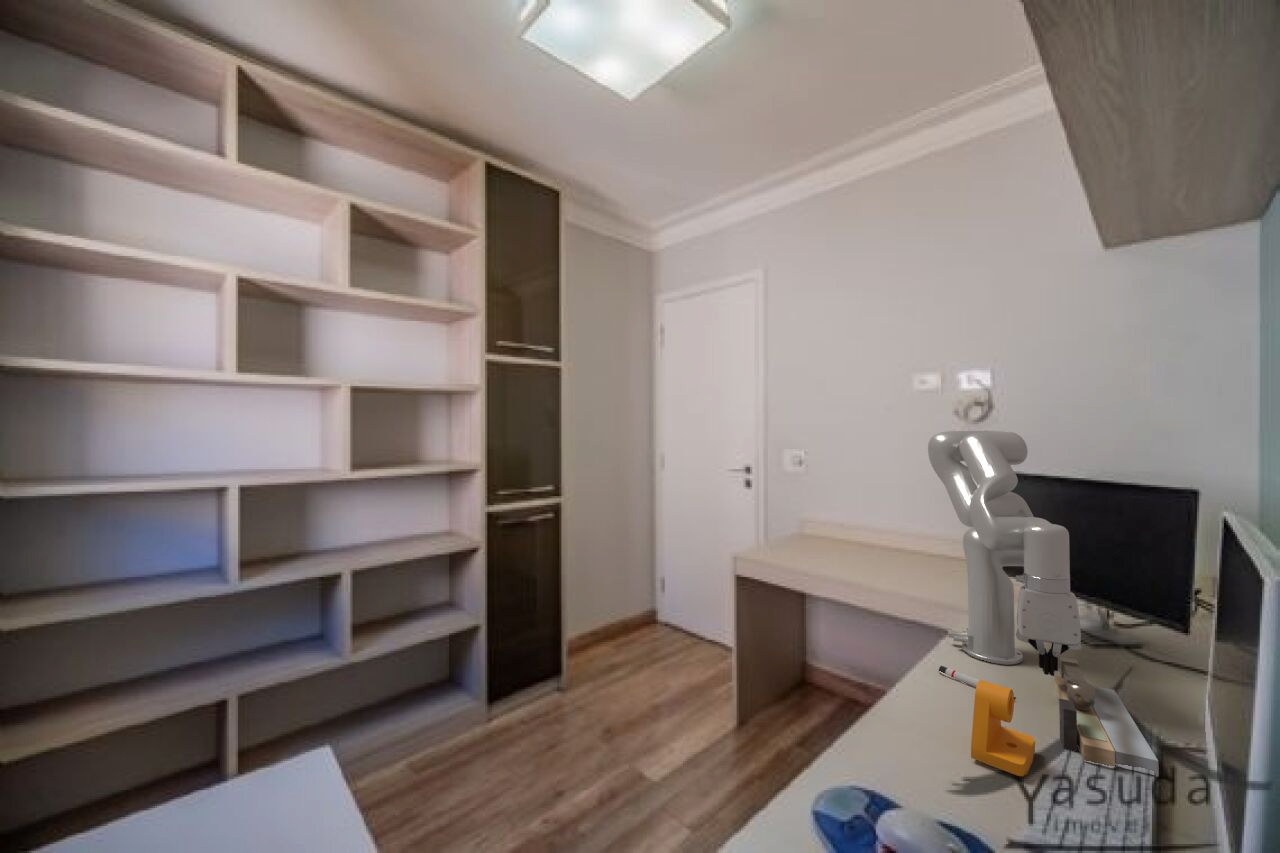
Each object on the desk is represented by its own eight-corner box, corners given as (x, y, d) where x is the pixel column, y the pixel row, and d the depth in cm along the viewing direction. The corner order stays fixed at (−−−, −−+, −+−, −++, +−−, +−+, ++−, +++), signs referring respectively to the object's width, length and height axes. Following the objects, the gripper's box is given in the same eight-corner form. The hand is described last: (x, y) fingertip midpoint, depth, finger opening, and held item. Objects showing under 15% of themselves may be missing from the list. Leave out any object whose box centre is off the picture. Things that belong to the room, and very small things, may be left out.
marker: (938, 675, 120) (938, 666, 120) (943, 673, 121) (943, 664, 121) (1014, 705, 107) (1014, 695, 107) (1018, 702, 108) (1018, 693, 108)
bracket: (1023, 783, 84) (1022, 707, 84) (971, 762, 89) (970, 691, 89) (1036, 753, 91) (1035, 684, 91) (987, 735, 96) (986, 670, 96)
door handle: (1097, 709, 97) (1096, 690, 97) (1069, 704, 99) (1069, 685, 99) (1080, 677, 109) (1080, 660, 109) (1056, 673, 111) (1056, 656, 111)
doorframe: (1067, 757, 89) (1066, 717, 89) (1042, 686, 114) (1041, 654, 114) (1160, 780, 83) (1160, 736, 84) (1113, 700, 108) (1112, 666, 108)
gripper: (1004, 583, 109) (1005, 671, 109) (1098, 594, 101) (1099, 689, 101) (1001, 574, 115) (1003, 658, 115) (1089, 584, 108) (1091, 673, 108)
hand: (1048, 672), depth 108 cm, fingers closed
